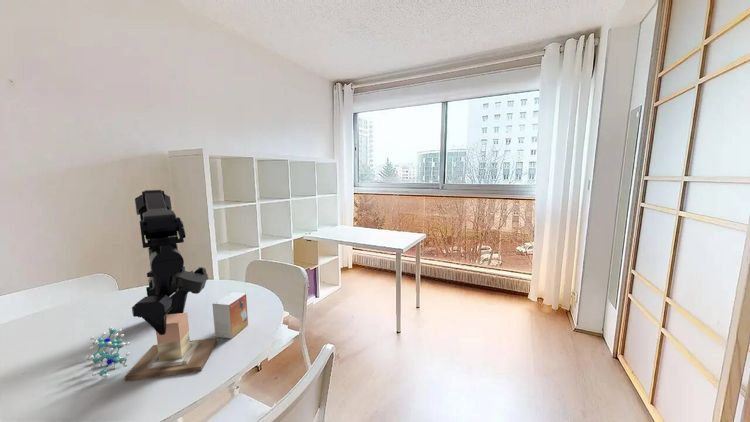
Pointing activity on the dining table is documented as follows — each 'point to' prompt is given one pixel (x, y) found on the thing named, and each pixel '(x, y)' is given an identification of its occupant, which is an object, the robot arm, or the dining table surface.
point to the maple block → (174, 349)
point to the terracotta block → (174, 328)
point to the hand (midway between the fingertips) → (172, 324)
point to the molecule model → (106, 356)
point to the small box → (230, 315)
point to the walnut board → (173, 361)
